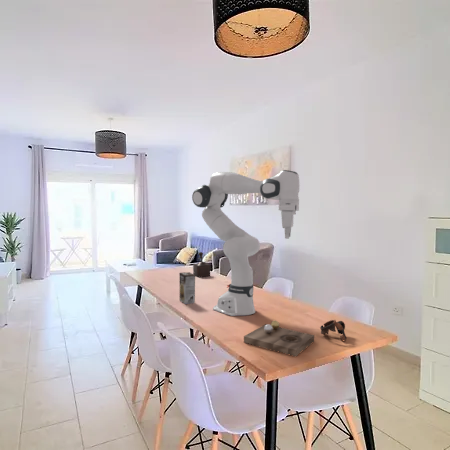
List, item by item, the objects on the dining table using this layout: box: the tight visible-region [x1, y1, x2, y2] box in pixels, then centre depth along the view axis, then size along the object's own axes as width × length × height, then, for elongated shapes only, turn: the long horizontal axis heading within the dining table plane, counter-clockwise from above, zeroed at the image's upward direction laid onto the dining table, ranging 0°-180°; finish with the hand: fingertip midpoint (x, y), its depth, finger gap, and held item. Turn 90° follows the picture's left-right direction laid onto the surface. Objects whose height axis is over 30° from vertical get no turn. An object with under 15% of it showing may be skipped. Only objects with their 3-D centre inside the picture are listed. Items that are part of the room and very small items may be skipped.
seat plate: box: [243, 323, 315, 357], centre depth 135 cm, size 22×18×2 cm
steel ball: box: [264, 323, 273, 333], centre depth 138 cm, size 4×4×4 cm
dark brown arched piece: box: [319, 319, 347, 341], centre depth 141 cm, size 12×10×8 cm
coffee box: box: [179, 271, 196, 305], centre depth 193 cm, size 9×6×16 cm
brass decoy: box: [270, 320, 280, 329], centre depth 143 cm, size 4×4×4 cm
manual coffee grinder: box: [192, 251, 211, 279], centre depth 271 cm, size 16×11×18 cm
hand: (287, 237), depth 151 cm, fingers open, 8 cm apart
